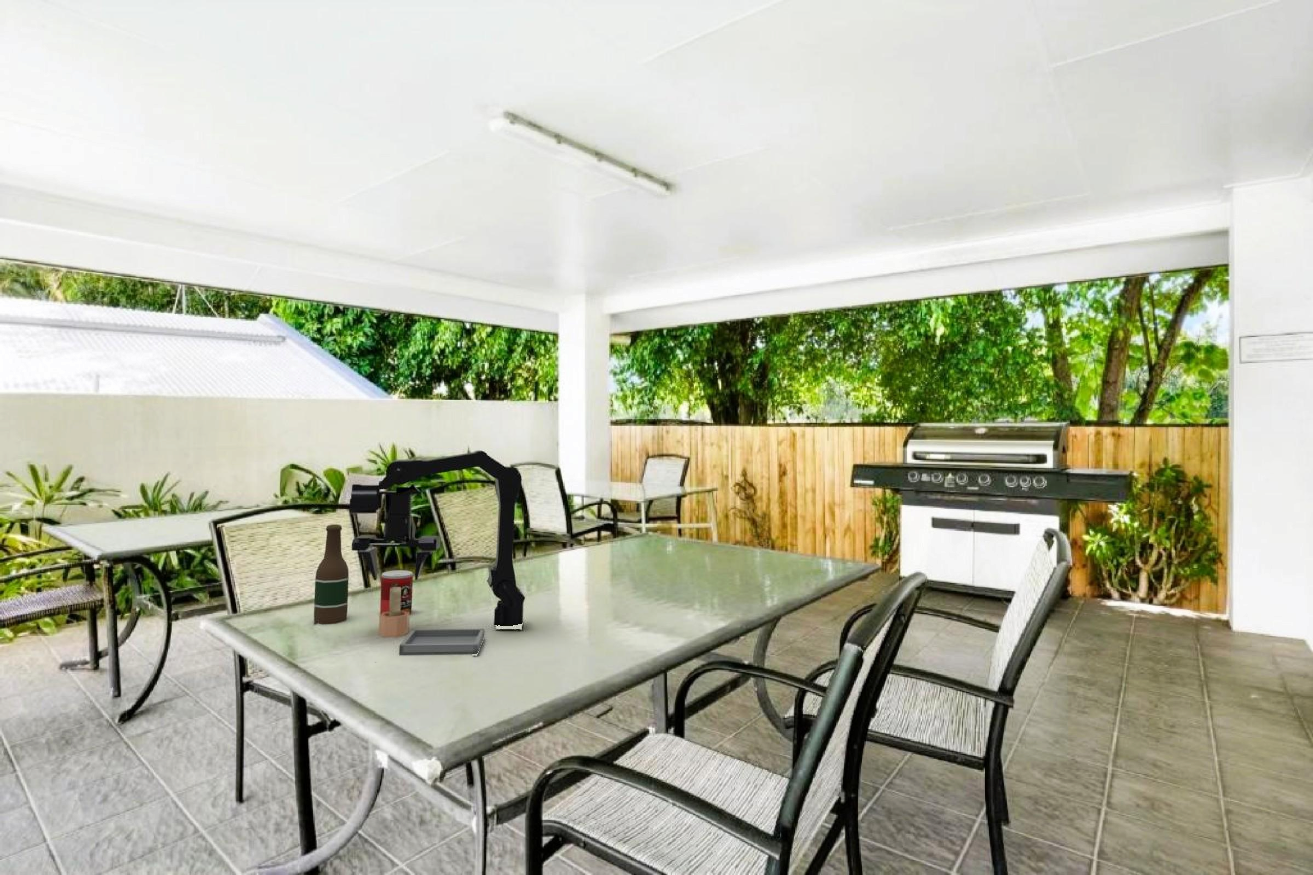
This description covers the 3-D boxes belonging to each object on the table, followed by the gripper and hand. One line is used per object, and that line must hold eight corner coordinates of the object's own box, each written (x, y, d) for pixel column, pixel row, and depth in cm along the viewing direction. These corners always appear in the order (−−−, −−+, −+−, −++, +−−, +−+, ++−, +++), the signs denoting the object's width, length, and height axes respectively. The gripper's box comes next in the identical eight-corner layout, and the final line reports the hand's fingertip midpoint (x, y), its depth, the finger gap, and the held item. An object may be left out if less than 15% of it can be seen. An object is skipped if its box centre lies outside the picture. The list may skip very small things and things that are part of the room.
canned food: (390, 621, 164) (392, 577, 164) (373, 615, 169) (375, 572, 169) (417, 615, 170) (419, 573, 170) (400, 610, 175) (402, 569, 175)
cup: (410, 631, 155) (411, 610, 155) (404, 638, 149) (405, 617, 149) (383, 631, 154) (384, 610, 155) (376, 639, 148) (377, 617, 149)
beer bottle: (338, 626, 157) (341, 527, 158) (306, 625, 157) (310, 526, 158) (353, 618, 165) (357, 523, 165) (323, 617, 165) (326, 522, 166)
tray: (484, 639, 151) (484, 628, 151) (477, 656, 139) (477, 644, 139) (412, 640, 149) (412, 629, 149) (399, 657, 137) (399, 645, 137)
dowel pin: (400, 631, 153) (402, 586, 153) (398, 634, 151) (399, 589, 151) (389, 631, 153) (391, 586, 153) (387, 634, 151) (388, 589, 151)
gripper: (445, 510, 162) (443, 572, 162) (366, 509, 159) (364, 573, 159) (436, 515, 151) (434, 582, 151) (351, 514, 148) (349, 582, 148)
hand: (396, 579), depth 152 cm, fingers open, 9 cm apart
